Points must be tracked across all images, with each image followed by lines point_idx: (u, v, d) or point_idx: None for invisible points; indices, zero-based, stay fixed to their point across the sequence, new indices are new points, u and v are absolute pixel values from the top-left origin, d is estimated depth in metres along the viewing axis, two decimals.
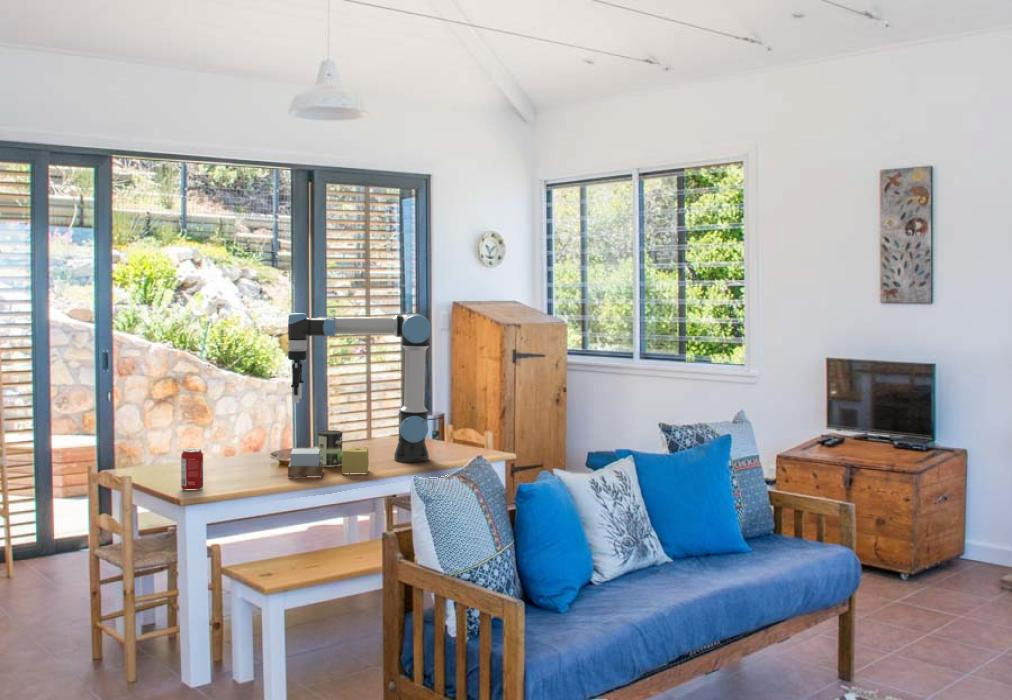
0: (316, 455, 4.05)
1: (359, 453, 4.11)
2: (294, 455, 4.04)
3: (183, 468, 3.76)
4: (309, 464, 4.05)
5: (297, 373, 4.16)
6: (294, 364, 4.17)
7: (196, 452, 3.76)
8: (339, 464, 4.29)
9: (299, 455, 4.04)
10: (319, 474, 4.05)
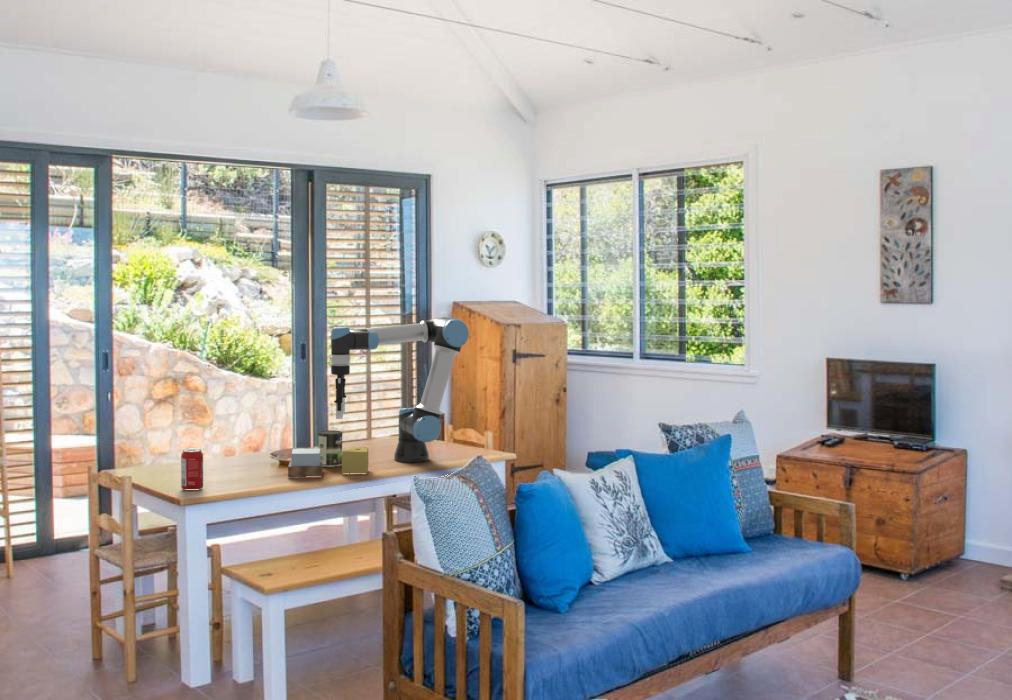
0: (317, 455, 4.05)
1: (359, 453, 4.11)
2: (295, 455, 4.04)
3: (183, 468, 3.76)
4: (310, 464, 4.05)
5: (340, 388, 4.09)
6: (337, 379, 4.09)
7: (196, 452, 3.76)
8: (339, 464, 4.29)
9: (300, 455, 4.04)
10: (319, 474, 4.05)
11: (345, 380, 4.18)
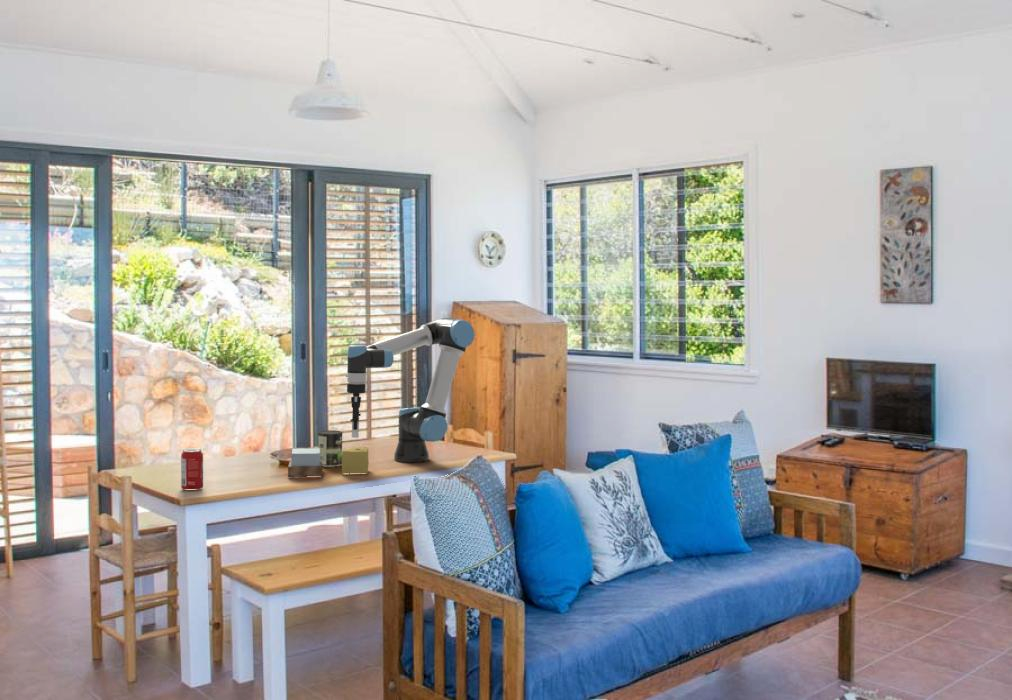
0: (317, 455, 4.06)
1: (359, 453, 4.11)
2: (295, 455, 4.04)
3: (183, 468, 3.76)
4: (310, 464, 4.05)
5: (357, 407, 4.06)
6: (354, 398, 4.07)
7: (196, 452, 3.76)
8: (339, 464, 4.29)
9: (300, 455, 4.04)
10: (319, 474, 4.05)
11: (360, 398, 4.16)
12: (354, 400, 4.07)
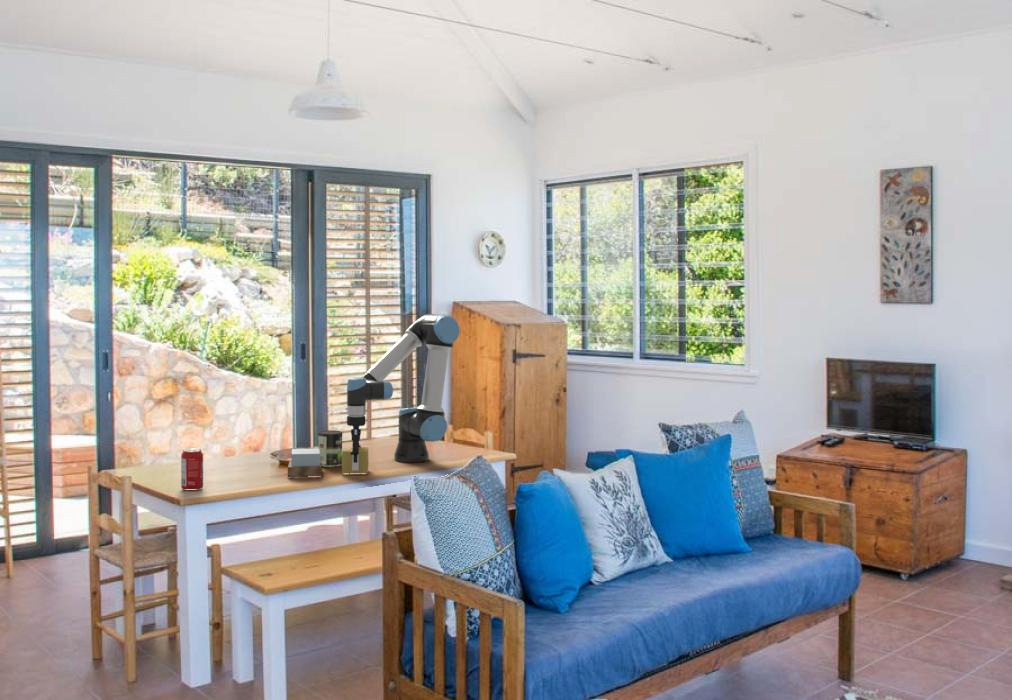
0: (317, 455, 4.06)
1: (359, 453, 4.11)
2: (295, 455, 4.04)
3: (183, 468, 3.76)
4: (310, 464, 4.06)
5: (357, 440, 4.07)
6: (354, 431, 4.08)
7: (196, 452, 3.76)
8: (339, 464, 4.29)
9: (300, 455, 4.05)
10: (319, 474, 4.05)
11: None
12: (354, 433, 4.08)
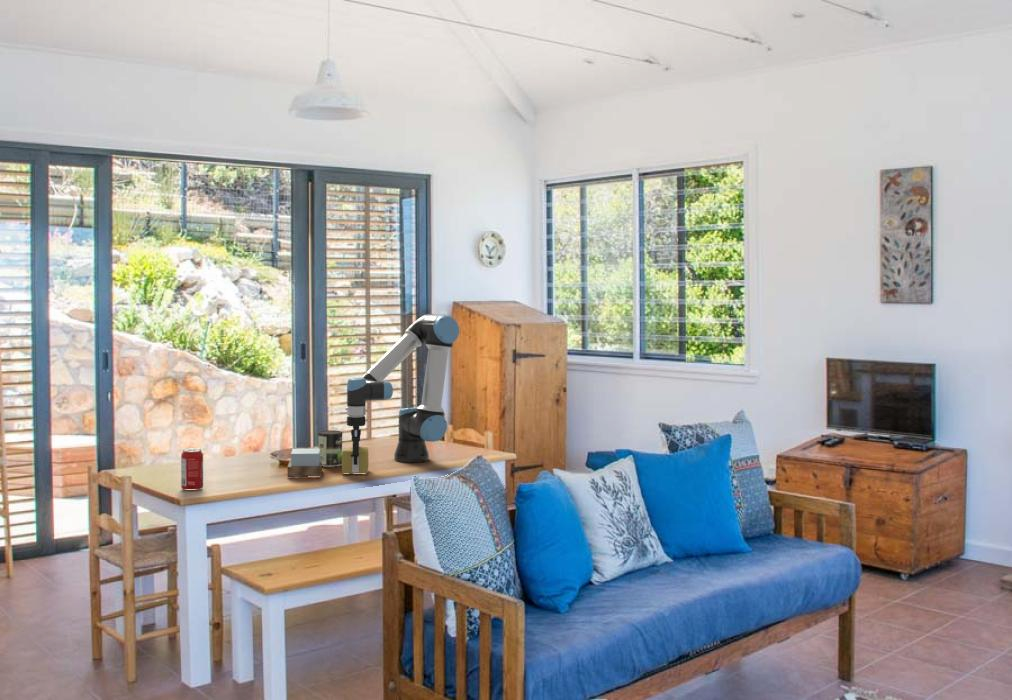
0: (317, 455, 4.06)
1: (359, 453, 4.11)
2: (295, 455, 4.04)
3: (183, 468, 3.76)
4: (310, 464, 4.05)
5: (357, 442, 4.08)
6: (354, 433, 4.08)
7: (196, 452, 3.76)
8: (339, 464, 4.29)
9: (300, 455, 4.04)
10: (319, 474, 4.05)
11: None
12: (354, 435, 4.08)
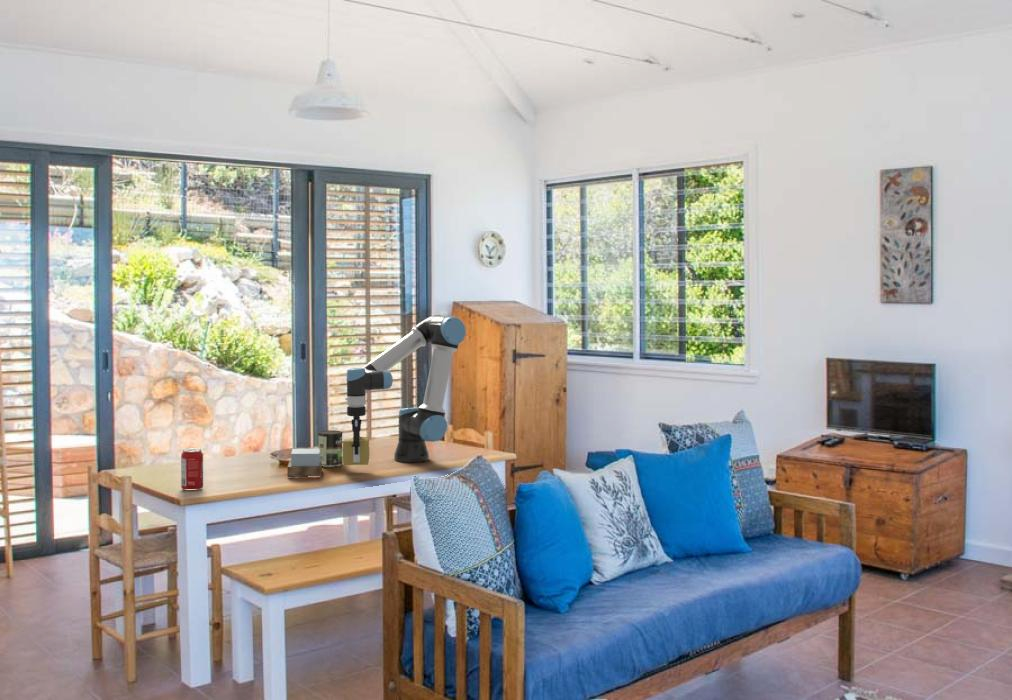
0: (317, 455, 4.06)
1: (360, 443, 4.11)
2: (295, 455, 4.04)
3: (183, 468, 3.76)
4: (310, 464, 4.05)
5: (357, 432, 4.08)
6: (354, 423, 4.08)
7: (196, 452, 3.76)
8: (339, 464, 4.29)
9: (300, 455, 4.04)
10: (318, 474, 4.05)
11: None
12: (354, 425, 4.08)
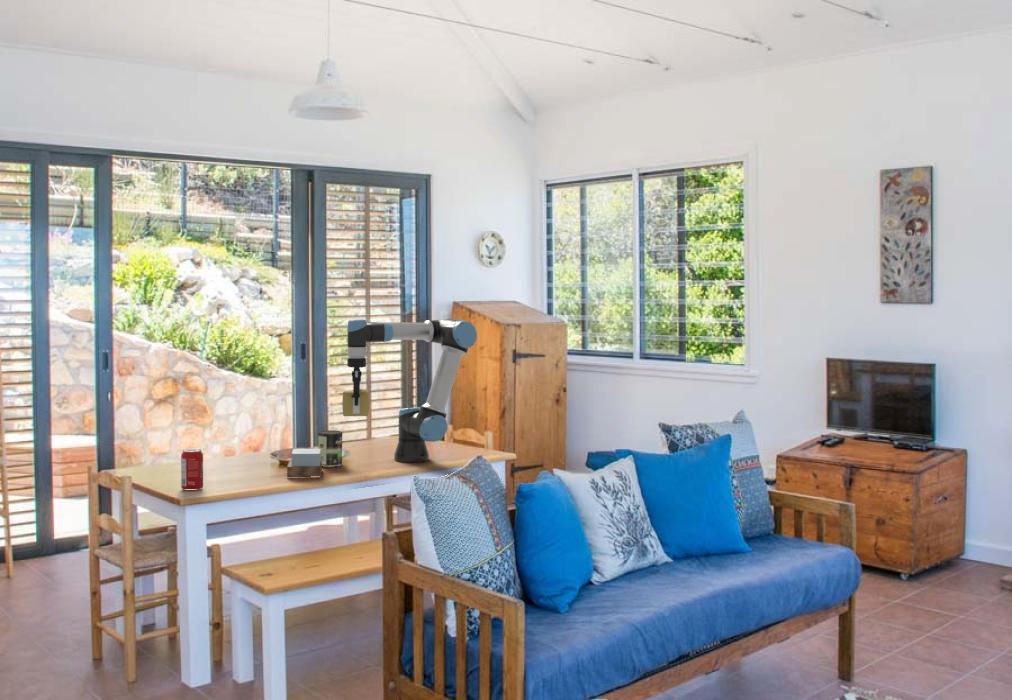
0: (317, 455, 4.05)
1: (360, 394, 4.09)
2: (295, 455, 4.04)
3: (183, 468, 3.76)
4: (310, 464, 4.05)
5: (358, 383, 4.06)
6: (354, 373, 4.06)
7: (196, 452, 3.76)
8: (339, 464, 4.29)
9: (300, 455, 4.04)
10: (318, 474, 4.05)
11: None
12: (355, 376, 4.06)
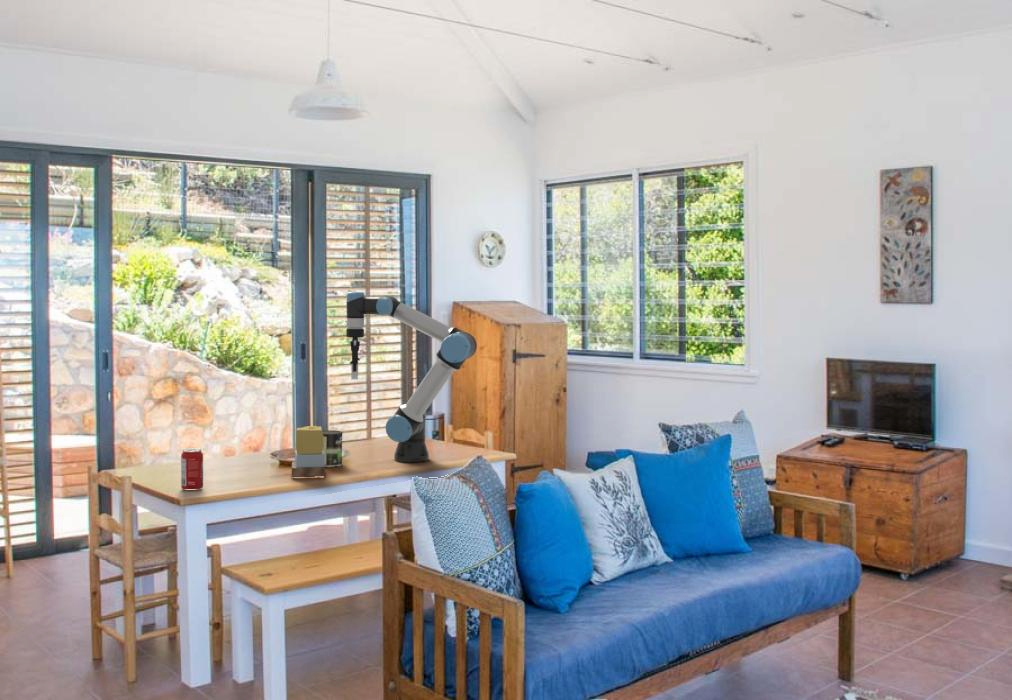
0: (322, 456, 4.06)
1: (314, 432, 4.05)
2: (300, 456, 4.03)
3: (183, 468, 3.76)
4: (315, 465, 4.05)
5: (356, 350, 4.27)
6: (353, 341, 4.28)
7: (196, 452, 3.76)
8: (339, 464, 4.29)
9: (305, 456, 4.04)
10: (323, 475, 4.05)
11: None
12: (353, 343, 4.28)
